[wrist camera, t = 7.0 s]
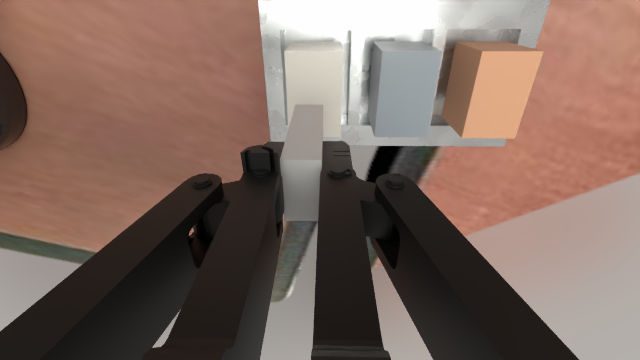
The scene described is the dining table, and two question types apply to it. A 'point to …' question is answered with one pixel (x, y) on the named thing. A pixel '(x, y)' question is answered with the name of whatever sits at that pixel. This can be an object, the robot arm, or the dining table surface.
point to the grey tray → (383, 26)
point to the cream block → (316, 80)
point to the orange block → (489, 88)
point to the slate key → (402, 88)
